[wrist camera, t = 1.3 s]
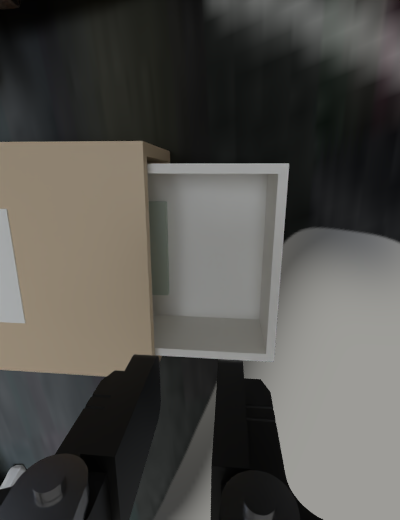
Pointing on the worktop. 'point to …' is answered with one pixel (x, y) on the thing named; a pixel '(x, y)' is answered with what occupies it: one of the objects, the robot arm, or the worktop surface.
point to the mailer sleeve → (75, 255)
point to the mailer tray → (216, 258)
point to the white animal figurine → (12, 476)
